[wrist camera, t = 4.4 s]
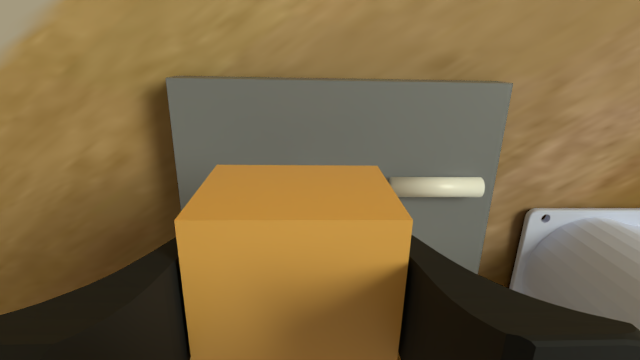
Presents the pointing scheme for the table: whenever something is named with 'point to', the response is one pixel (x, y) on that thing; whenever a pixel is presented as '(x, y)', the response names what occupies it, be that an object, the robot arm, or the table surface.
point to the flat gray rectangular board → (356, 140)
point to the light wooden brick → (294, 263)
